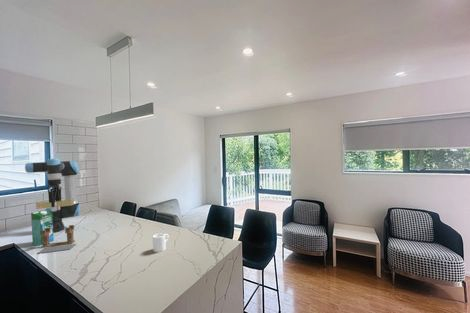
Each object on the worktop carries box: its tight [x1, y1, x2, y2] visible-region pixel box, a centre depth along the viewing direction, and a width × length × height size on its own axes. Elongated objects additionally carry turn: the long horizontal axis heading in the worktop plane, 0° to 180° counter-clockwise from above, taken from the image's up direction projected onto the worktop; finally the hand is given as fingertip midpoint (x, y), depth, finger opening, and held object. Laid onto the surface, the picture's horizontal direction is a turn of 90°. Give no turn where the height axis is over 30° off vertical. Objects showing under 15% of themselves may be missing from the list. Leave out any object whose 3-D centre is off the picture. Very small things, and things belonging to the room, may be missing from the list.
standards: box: [40, 224, 76, 249], centre depth 164 cm, size 7×20×13 cm, turn 105°
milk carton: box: [30, 209, 55, 246], centre depth 170 cm, size 9×9×25 cm
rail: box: [35, 199, 74, 210], centre depth 159 cm, size 22×4×4 cm, turn 104°
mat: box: [36, 243, 77, 255], centre depth 155 cm, size 9×20×1 cm, turn 105°
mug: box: [152, 232, 170, 253], centre depth 148 cm, size 8×12×10 cm
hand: (55, 210), depth 159 cm, fingers closed on rail, 4 cm apart
